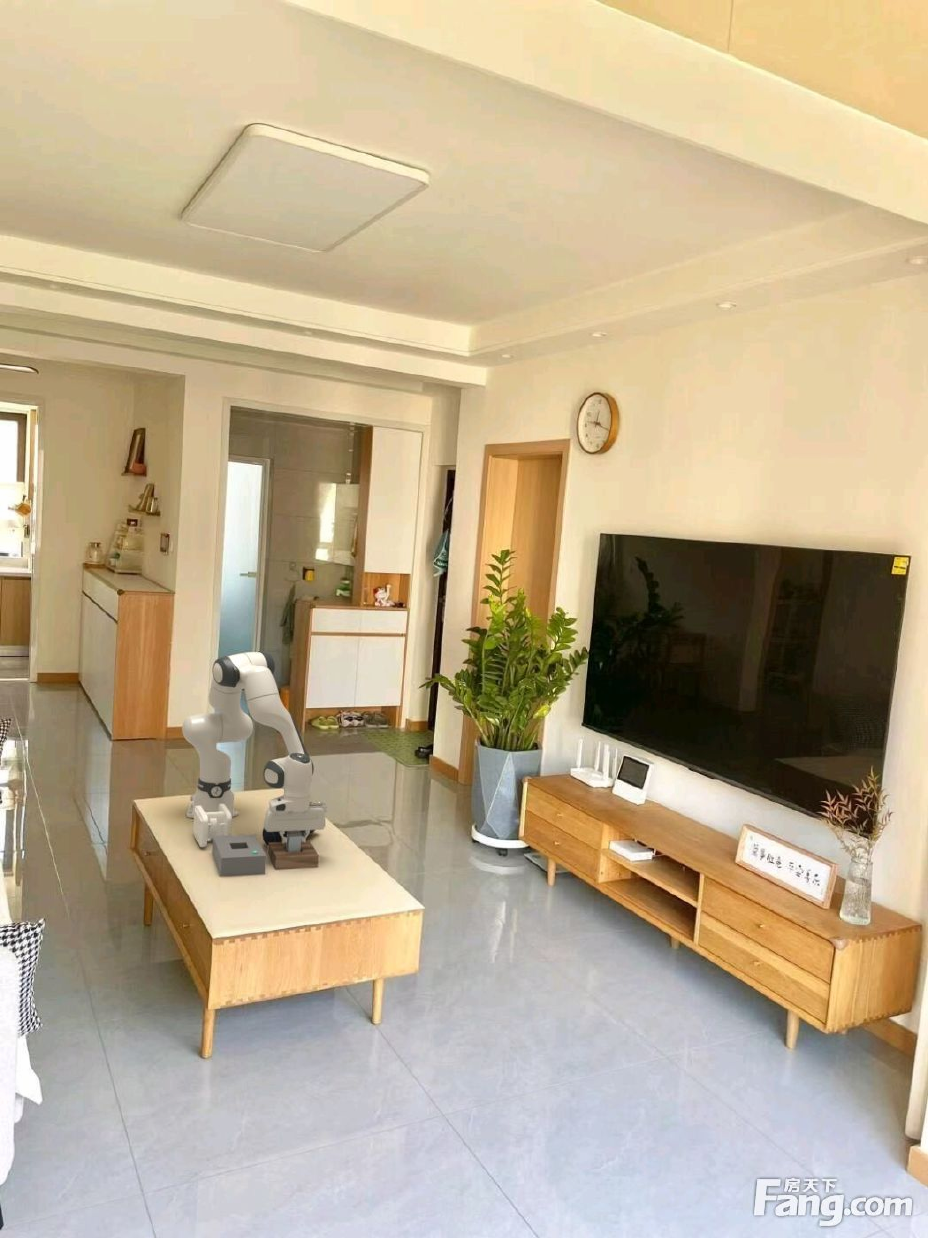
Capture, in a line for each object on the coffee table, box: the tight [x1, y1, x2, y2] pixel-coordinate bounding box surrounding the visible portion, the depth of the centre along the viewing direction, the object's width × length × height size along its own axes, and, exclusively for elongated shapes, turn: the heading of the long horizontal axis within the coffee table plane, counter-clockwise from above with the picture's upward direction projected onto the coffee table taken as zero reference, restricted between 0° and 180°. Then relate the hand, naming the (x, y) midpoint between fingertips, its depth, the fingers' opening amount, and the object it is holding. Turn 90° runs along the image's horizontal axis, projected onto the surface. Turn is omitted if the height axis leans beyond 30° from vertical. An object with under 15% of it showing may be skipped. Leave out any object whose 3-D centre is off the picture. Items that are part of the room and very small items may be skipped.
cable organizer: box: [192, 804, 233, 848], centre depth 331 cm, size 15×11×12 cm
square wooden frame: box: [267, 840, 319, 870], centre depth 322 cm, size 14×14×4 cm
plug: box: [286, 831, 302, 852], centre depth 321 cm, size 4×4×10 cm
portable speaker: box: [261, 827, 316, 847], centre depth 339 cm, size 25×10×10 cm, turn 155°
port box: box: [211, 833, 267, 877], centre depth 315 cm, size 20×14×6 cm
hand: (293, 842), depth 321 cm, fingers open, 5 cm apart
